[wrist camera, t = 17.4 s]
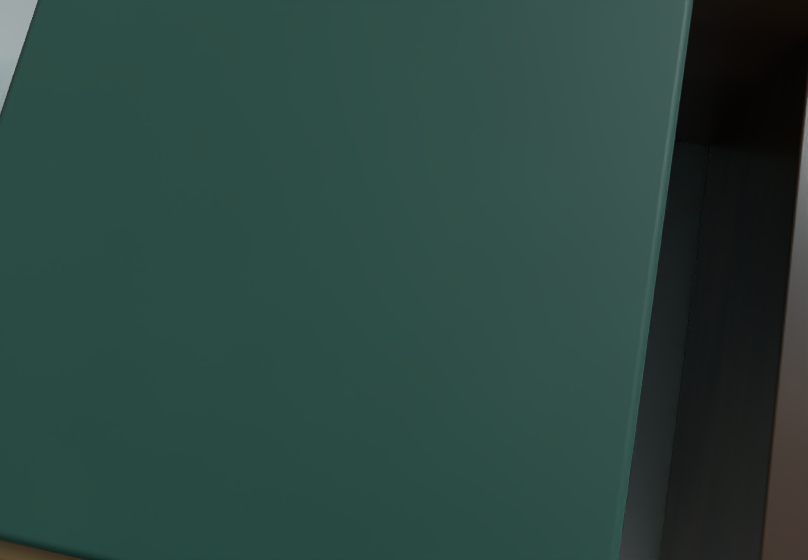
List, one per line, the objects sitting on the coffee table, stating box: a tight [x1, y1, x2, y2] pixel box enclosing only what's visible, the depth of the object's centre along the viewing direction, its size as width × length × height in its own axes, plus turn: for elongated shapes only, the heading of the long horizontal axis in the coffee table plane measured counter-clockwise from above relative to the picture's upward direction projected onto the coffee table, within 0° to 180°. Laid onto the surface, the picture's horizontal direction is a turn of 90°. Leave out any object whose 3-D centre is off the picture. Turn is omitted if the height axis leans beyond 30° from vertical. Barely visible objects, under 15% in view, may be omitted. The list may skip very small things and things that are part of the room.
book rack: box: [660, 0, 808, 560], centre depth 13 cm, size 11×14×8 cm
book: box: [0, 0, 693, 560], centre depth 11 cm, size 9×4×13 cm, turn 169°
